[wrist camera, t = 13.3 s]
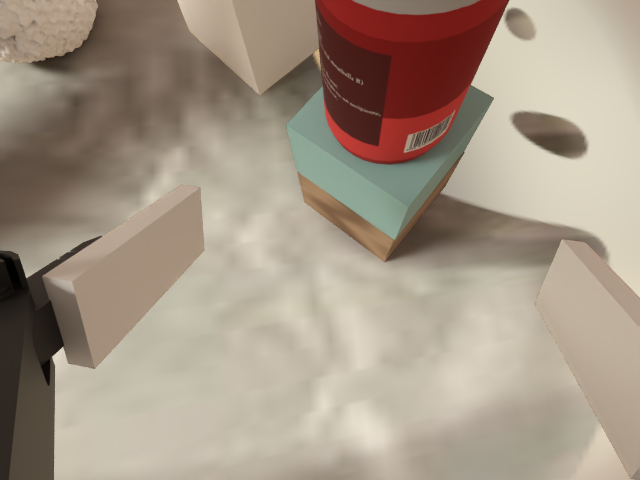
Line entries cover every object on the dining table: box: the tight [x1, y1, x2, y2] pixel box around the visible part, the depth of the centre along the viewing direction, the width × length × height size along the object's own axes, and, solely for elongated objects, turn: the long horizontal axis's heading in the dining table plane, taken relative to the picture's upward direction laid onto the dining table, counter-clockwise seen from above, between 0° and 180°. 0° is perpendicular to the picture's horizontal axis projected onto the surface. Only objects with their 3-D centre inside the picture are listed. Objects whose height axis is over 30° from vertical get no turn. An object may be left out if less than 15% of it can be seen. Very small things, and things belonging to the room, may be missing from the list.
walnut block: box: [297, 152, 464, 262], centre depth 32 cm, size 9×9×6 cm
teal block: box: [286, 85, 494, 240], centre depth 26 cm, size 9×9×6 cm
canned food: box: [315, 0, 509, 164], centre depth 18 cm, size 8×8×11 cm
